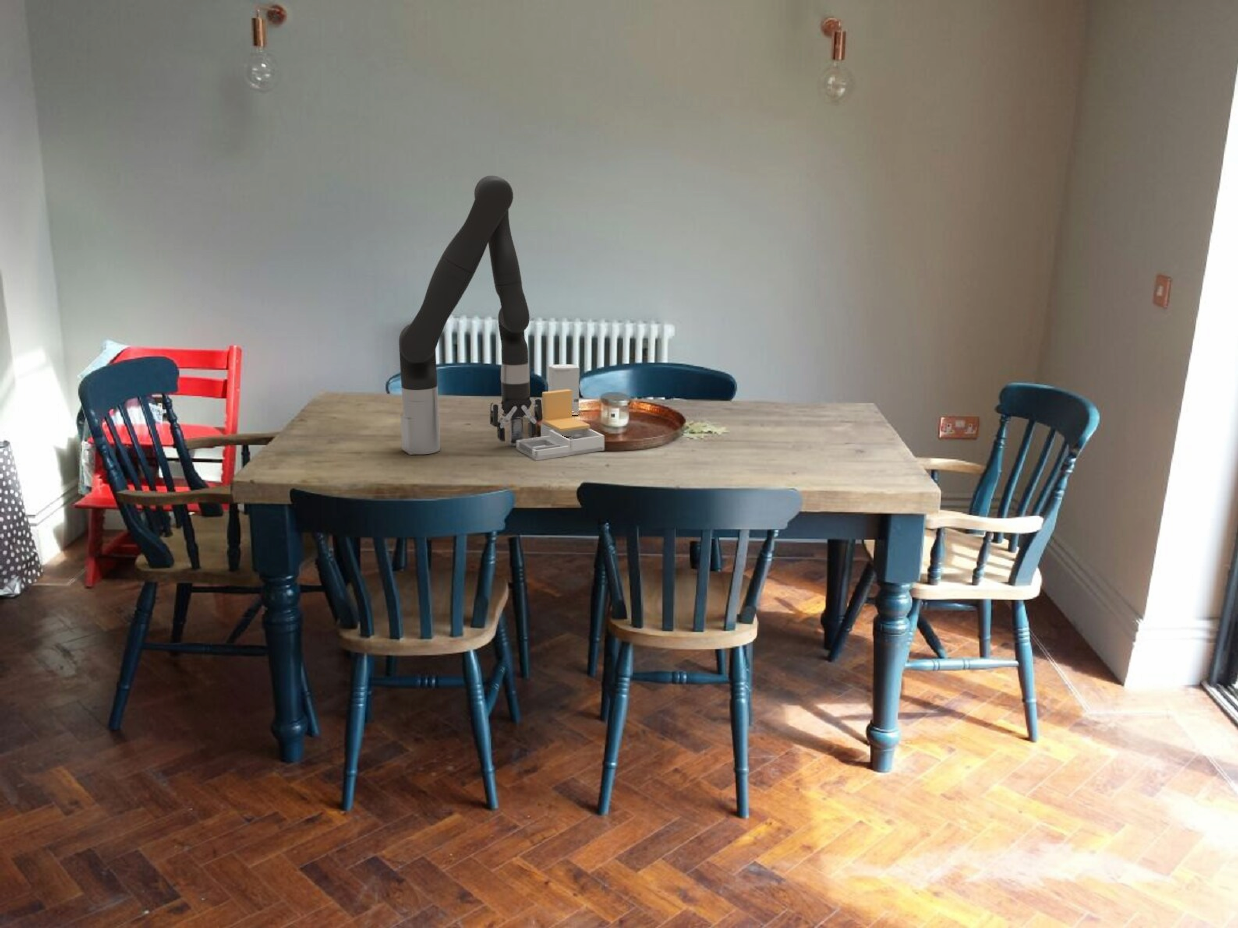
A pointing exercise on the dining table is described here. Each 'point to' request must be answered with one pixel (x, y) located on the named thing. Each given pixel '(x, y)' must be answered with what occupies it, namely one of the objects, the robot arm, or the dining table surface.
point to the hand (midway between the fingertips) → (516, 438)
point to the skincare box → (565, 381)
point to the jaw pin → (516, 430)
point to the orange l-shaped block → (560, 411)
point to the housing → (560, 443)
